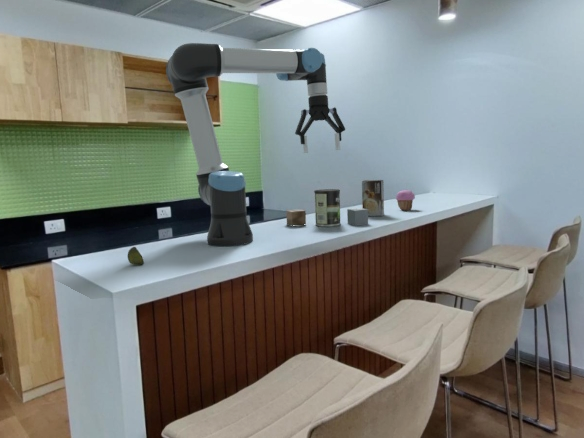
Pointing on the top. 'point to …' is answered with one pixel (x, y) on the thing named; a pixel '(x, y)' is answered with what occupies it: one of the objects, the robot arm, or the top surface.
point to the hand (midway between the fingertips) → (322, 151)
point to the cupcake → (405, 199)
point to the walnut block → (296, 217)
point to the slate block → (357, 216)
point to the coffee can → (327, 207)
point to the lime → (135, 256)
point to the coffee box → (373, 197)
